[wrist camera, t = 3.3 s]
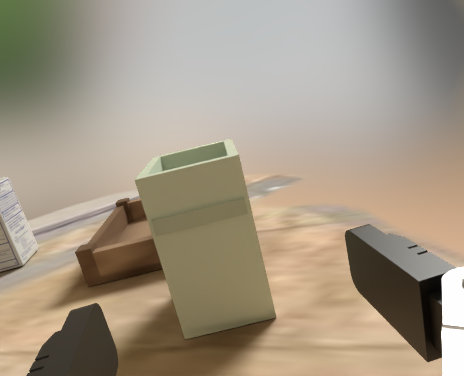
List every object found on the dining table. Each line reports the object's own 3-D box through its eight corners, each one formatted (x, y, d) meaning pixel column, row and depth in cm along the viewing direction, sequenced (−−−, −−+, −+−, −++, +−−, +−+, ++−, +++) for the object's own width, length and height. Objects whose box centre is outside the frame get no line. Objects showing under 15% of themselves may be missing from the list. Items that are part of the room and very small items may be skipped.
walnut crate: (88, 286, 28) (75, 252, 28) (126, 224, 41) (118, 200, 41) (233, 251, 28) (224, 216, 28) (225, 200, 41) (219, 175, 41)
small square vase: (184, 341, 19) (133, 180, 17) (190, 281, 25) (153, 156, 23) (276, 319, 19) (238, 155, 17) (260, 264, 25) (231, 138, 23)
